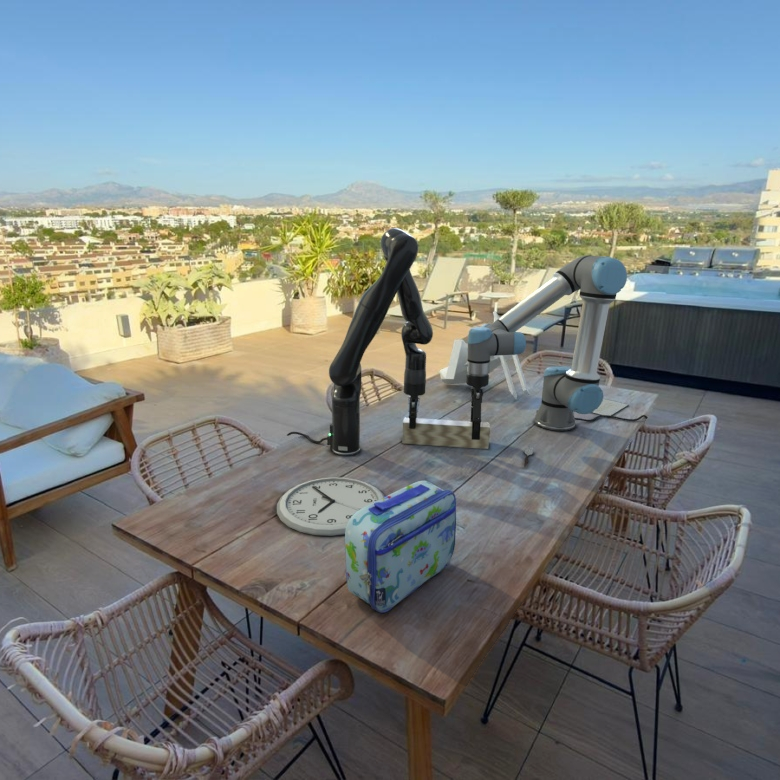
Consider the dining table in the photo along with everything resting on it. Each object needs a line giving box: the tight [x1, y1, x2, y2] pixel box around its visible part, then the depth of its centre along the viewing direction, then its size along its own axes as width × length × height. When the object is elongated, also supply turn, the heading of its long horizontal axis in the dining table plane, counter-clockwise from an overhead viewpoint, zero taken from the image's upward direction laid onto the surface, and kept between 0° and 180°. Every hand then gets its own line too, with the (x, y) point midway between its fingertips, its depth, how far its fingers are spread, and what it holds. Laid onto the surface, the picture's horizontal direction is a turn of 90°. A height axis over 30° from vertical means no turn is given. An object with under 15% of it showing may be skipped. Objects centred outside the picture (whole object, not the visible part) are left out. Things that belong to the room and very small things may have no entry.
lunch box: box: [344, 480, 457, 614], centre depth 109 cm, size 26×11×21 cm, turn 135°
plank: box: [401, 417, 491, 450], centre depth 184 cm, size 30×5×8 cm, turn 83°
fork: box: [523, 444, 534, 468], centre depth 173 cm, size 3×16×2 cm, turn 160°
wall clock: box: [276, 476, 386, 537], centre depth 142 cm, size 30×2×30 cm
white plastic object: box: [438, 310, 531, 400], centre depth 245 cm, size 37×45×31 cm
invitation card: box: [591, 398, 629, 416], centre depth 226 cm, size 21×1×15 cm
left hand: (412, 423), depth 185 cm, fingers open, 8 cm apart
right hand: (474, 431), depth 183 cm, fingers open, 13 cm apart
